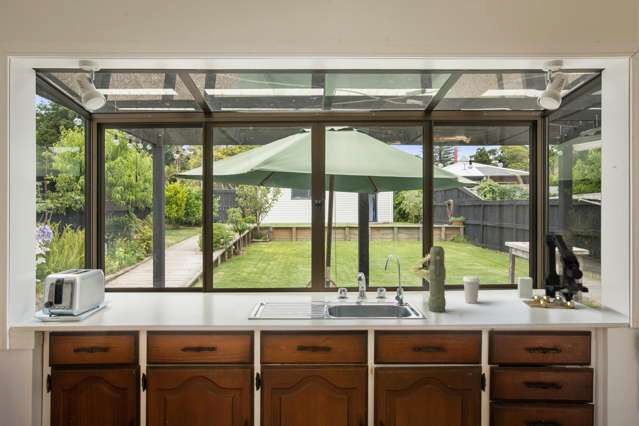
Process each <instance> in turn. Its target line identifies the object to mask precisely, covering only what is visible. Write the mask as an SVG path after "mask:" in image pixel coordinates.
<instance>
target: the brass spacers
mask: <svg viewBox="0 0 639 426" xmlns="http://www.w3.org/2000/svg"><path fill="white" fill-rule="evenodd" d="M542 298H543V299H541V295H537V294H536V295H534V294H533V301H534V302H537V303H540V307H541V308H540V309H548V308H547V303H550V302H551V301H550V300H551V298H550V296H543V295H542ZM555 299H561V300H563V301H564V296H561V295H556V298H555ZM566 303H567V308H569V309H568V310H575V309H574V307H575V301H572V300H571V301H567V302H566Z"/></svg>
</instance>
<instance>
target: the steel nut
mask: <svg viewBox="0 0 639 426" xmlns="http://www.w3.org/2000/svg"><path fill="white" fill-rule="evenodd" d="M552 302H553V305H555V306H564V302H565V300H564V299H563V300H561V299H556V298H552Z"/></svg>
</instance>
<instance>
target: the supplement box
mask: <svg viewBox="0 0 639 426" xmlns="http://www.w3.org/2000/svg"><path fill="white" fill-rule="evenodd" d="M533 282H534V279H533V278H532V277H530V276H529V277H527V276H518V277H517V297H518V298H520V299H530V300H531V299H532V300H533V285H534V284H533Z"/></svg>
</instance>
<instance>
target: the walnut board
mask: <svg viewBox="0 0 639 426" xmlns="http://www.w3.org/2000/svg"><path fill="white" fill-rule="evenodd" d="M522 302H523V303H524V304H526V305H527V306H528V307H530V308H531V309H542V308H541V307H540V303H537V302H534V300H522ZM546 309H552V310H553V309H554V310H556V309H557V310H559V309H560V310H570V309H569V308H567V302H566V301H564V306H555V305H553V301H550V303H547V308H546ZM573 310H579V308H577V307H575V306H574V309H573Z"/></svg>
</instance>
